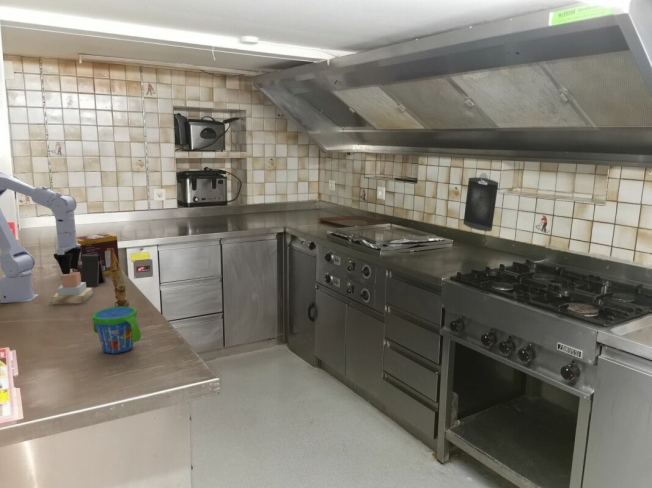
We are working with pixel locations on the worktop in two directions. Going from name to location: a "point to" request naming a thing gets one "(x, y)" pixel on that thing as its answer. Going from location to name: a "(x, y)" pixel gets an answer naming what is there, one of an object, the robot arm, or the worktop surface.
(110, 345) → the snack cup
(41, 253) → the worktop surface
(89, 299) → the rubber mat
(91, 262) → the phone stand
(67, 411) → the worktop surface
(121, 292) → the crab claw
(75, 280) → the terracotta block
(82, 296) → the oak slab
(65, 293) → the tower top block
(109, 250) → the supplement box
